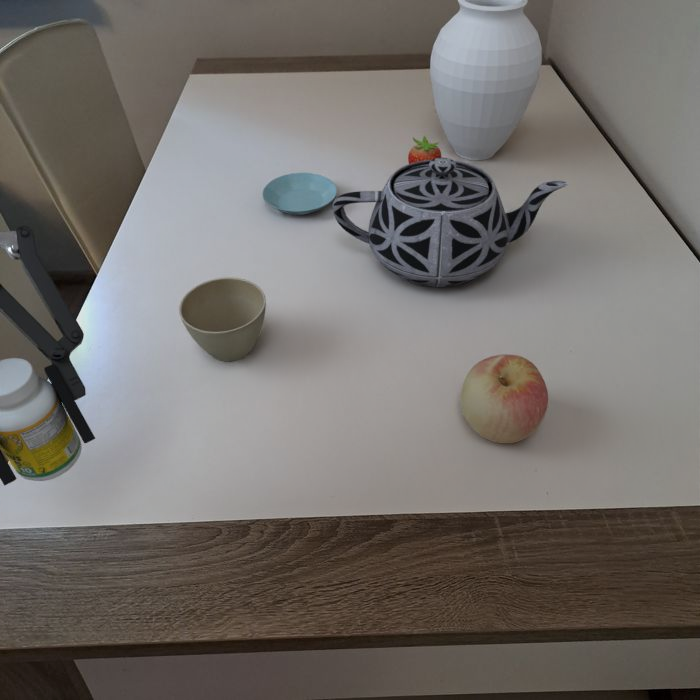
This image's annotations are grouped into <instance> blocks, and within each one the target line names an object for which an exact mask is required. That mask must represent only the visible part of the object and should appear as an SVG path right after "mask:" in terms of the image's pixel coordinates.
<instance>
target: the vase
mask: <svg viewBox="0 0 700 700" xmlns="http://www.w3.org/2000/svg"><path fill="white" fill-rule="evenodd" d="M528 2H529V0H457V3H458V5H459V10H458V12H457V13H456V14H454V15H452V17H451V18H450V19H449V20H448V21H447V23H445V25H443V27H441V28H440V31H439V33H438V35H437V36H436V39H435V42H434V43H433V46H432V50H431V54H430V61H429V62H430V63H429V65H430V66H429V75H430V81H431V82H430V83H431V88H432V94H433V101H434V106H435V111H436V113H437V116H438V119H439V122H440V124H441V127H442V130H443V132H444V134H445V137H446V138H447V140H448V143H449V144H450V146H451V147H452V148H453V149H454V153H455V154H456V155H457V156H459V157H460V158H462V159H464V160H469V161H486V160H488V159H491V158H493V157H494V156H495V155H496V153H497V152H498V151H499V150H500V149H501V148H502V147H503V146H504V145H505V144H506V142H507V141H508V140H509V138H510V137H511V135H512V134H513V132H514V131H515V129H516V128H517V126H518V124H519V123H520V121H521V120H522V118H523V116H524V115H525V114H526V111H527V108H528V107H529V104H530V101H531V99H532V96H533V94H534V92H535V89H536V87H537V84H538V82H539V79H540V74H541V69H542V63H543V48H542V43H541V40H540V35H539V33H538V30H537V29H536V28H535V27H534V25H533V24H532V22H531V20H530V19H529V18H528V17H527V15H526V14H525V13H524V9H525V7H526V6H527V4H528Z"/></svg>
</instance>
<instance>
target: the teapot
mask: <svg viewBox="0 0 700 700" xmlns="http://www.w3.org/2000/svg"><path fill="white" fill-rule="evenodd" d="M568 185H569V183H568V182H567V181H564V180H549V181H545V182H542V183H540V184H539V185H537V186H536V187H535V188H534V189H533V190H532V191H531V192H530V194H529V196H527V198H526V200H525V201H524V203H522V205H521V206H520V207H518V208H517V209H515V210H512V211H509V212H506V211H505V207H504V205H503V202H502V199H501V196H500V193H499V190H498V188H497V186H496V183H495V181H494V179H493V178H492V177H491V175H489V174H488V173H487V172H486V171H485V170H483V169H481V168H480V167H478V166H475V165H473V164H470V163H468V162H464V161H458V160H454V159H451V158H448V157H441V158H436V159H433V160H424V161H418V162H414V163H411V164H409V163H408V164H406V165H403V166H401V167H399V168H397V170H395V171H394V172H393V173H392V174H391V175H390V176H389V178H388V179H387V182H386V183H385V185H384V187H383V188H382V190H362V191H361V190H360V191H351V192H350V191H349V192H345V193H342V194H339V195H338V196H336V197H335V198H334V199H333V200H334V201H333V202H332V212H333V216H334V219H335V221H336V222H337V224H338V225H339V226H340V227H341V228H342V229H343V230H344V231H345V232H346V233H348V235H351V236H352V237H354V238H355V239H356V240H360V241H361V242H363V243H366V244H367V245H368V244H369V247H370V249H371V251H372V253H373V255H374V256H375V259H377V260H378V262H379V263H380V265H382V266H383V267H384V268H385V269H387V270H388V271H390V272H391V273H393V274H394V275H396V276H398V277H399V278H401V279H403V280H404V281H407V282H410V283H412V284H416V285H419V286H425V287H436V288H442V287H451V286H457V285H462V284H464V283H467V282H470V281H472V280H474V279H476V278H478V277H480V276H482V275H485V274H487V272H489V271H490V270H491V269H493V268H494V267H495V266H497V264H498V262H500V260H501V259H502V257H503V255H504V254H505V251H506V248H507V245H508V244H509V243H512V242H515V241H517V240H518V239H520V238H521V237H523V236H524V235H525V234H526V233H527V232H528V231H529V230H530V229H531V226H532V224H533V223H534V221H535V219H536V217H537V215H538V213H539V211H540V209H541V206H542V205H543V203H544V202H545V201H546V199H547V198H548V197H549V196H550V195H552V193H554V192H555V191H558V190H560V189H562V188H565V187H567V186H568ZM360 203H375V205H374V207H373V209H372V212H371V215H370V220H369V223H368V231H366V230H365V229H362V228H361V227H359V226H358V225H356V224H355V223H354V222H353V221H351V219H350V218H349V217H348V215H347V214H346V212H345V209H344V207H345V206H347V205H351V204H360Z"/></svg>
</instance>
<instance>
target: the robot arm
mask: <svg viewBox="0 0 700 700" xmlns="http://www.w3.org/2000/svg"><path fill="white" fill-rule="evenodd" d="M0 249H3V250H4V251H6V253H7V255H8V257H9V258H11V259H12V260H17V261H20V264H21V266H22V268H23V270H24V272H25V275H26V276H27V278H28V279H29V281H30V283H31V285H32V286H33V288H34V290H35V291H36V293H37V295H38V296H39V298H40V300H41V301H42V303H43V304H44V306H45V308H46V310H47V312H48V313H49V315H50V317H51V318H52V320H53V321H54V323H55V325H56V326H57V328H58V330H59V332H60V333H61V334H62V337H61V338H60V339H58V340H57V339H56V338H55V337H54V336H53V335H52V334H51V333H50V332H49V331H48V330H47V329H46V328H45V327H44V326H43V325H42V324H41V323H40V322H39V321H38V320H37V319H36V318H35V317H34V316H33V315H32V314H31V313H30V312H29V311H28V310H27V309H26V308H25V307H24V306H23V305H22V304H21V303H20V302H19V301H18V300H17V299H16V298H15V297H14V296H13V295H12V294H11V293H10V292H9V291H8V290H7V289H6V288H5V287H4V286H3V285H2V283H0V314H2V315H3V316H4V317H5V318H6V319H7V320H8V321H9V322H10V323H11V324H12V325H13V327H15V328H16V329H17V330H18V331H19V332H20V333H21V334H22V335H23V336H24V337H25V338H26V339H27V340H28V341H29V342H30V343H31V344H32V345H33V346H34V347H35V348H36V349H37V350H38V351H39V352H40V353H41V354H43V356H44V357H45V358H46V359H47V360H48V361H49V362H50V363H51V364H50V365H47V366H44V369H43V370H44V373H45V375H46V377H47V379H48V381H49V382H50V383H51V384H52V385H53V387H54V389H55V390H56V392H57V394H58V396H59V398H60V400H61V402H62V404H63V406H64V408H65V410H66V412H67V414H68V416H69V418H70V420H71V422H72V424H73V426H74V428H75V430H76V432H77V433H78V436H79V437H80V439H81V440H82V442H83V444H87V443H90V442H91V441H94V440H95V439H96V437H95V435H94V433H93V432H92V429H91V427H90V425H89V423H88V422H87V420H86V418H85V417H84V415H83V413H82V411H81V409H80V408H79V405H78V404H77V402H76V401H78V400H80V399H82V398H84V397H85V396H86V395H87V392H86V391H87V390H86V386H85V385H84V383H83V381H82V379H81V378H80V376H79V374H78V372H77V369H76V368H75V366H74V365H73V363H72V361H71V358H70V356H71V354H72V352H74V351H75V350H76V349H77V348H78V347H79V346H80V345H82V343H83V341H84V337H85V333H84V331H83V329H82V327H81V326H80V324H79V322H78V321H77V319H76V317H75V316H74V314H73V312H72V310H71V309H70V307H69V305H68V304H67V302H66V300H65V298H64V297H63V295H62V293H61V292H60V291H59V289H58V287H57V285H56V284H55V282H54V280H53V278H52V276H51V275H50V273H49V272H48V270H47V268H46V267H45V265H44V263H43V261H42V260H41V258H40V255H38V251H37V246H36V240H35V235H34V230H33V229H32V227H30V226H28V225H23V224H22V225H20V226H18V227H17V229H16V230H9V231H8V230H6V231H5V230H4V231H3V230H2V231H0ZM16 480H18V478H17V477H16V475H15V473H14V471H13V470H12V467H11V466H10V464H9V462H8V459H7V458H6V456H5V454H4V452H3V451H2V449H0V481H1V483H2V484H3V486H7V485H9V484H11V483H12V482H15V481H16Z"/></svg>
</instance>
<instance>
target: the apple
mask: <svg viewBox="0 0 700 700" xmlns="http://www.w3.org/2000/svg"><path fill="white" fill-rule="evenodd" d="M460 404H461V405H460V406H461V412H462V415H463V418H464V419H465V421H466V423H467V424H468V425H469V427H470V428H471V429H472V430H473V431H474V432H475V433H477V434H478V435H479V436H481V437H482V438H484V439H486V440H489V441H490V442H491V441H492V442H494V443H498V444H514V443H517V442H521V441H523V440H524V439H526V438H528V437H530V435H532V434H533V433H534V432H535V431H536V430H537V428H539V426H540V424H541V423H542V422H543V420H544V417H545V415H546V413H547V409H548V406H549V391H548V388H547V385H546V382H545V379H544V376H543V375H542V373H541V371H540V370H539V368H538V367H537V366H536V365H535V364H534V363H533V362H532V361H530V360H529V359H527V358H525V357H523V356H521V355H517V354H497V355H492V356H489V357H487V358H484V359H482V360H480V361H478V362H477V363H476V364H475V365H473V367H472V368H471V369H470V370H469V371H468V373H467V375H466V376H465V378H464V379H463V382H462V386H461V392H460Z"/></svg>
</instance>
